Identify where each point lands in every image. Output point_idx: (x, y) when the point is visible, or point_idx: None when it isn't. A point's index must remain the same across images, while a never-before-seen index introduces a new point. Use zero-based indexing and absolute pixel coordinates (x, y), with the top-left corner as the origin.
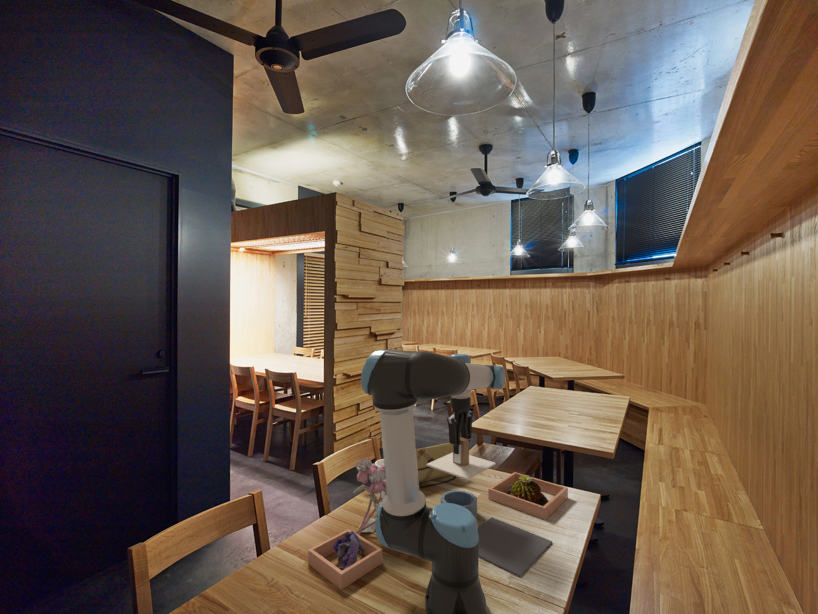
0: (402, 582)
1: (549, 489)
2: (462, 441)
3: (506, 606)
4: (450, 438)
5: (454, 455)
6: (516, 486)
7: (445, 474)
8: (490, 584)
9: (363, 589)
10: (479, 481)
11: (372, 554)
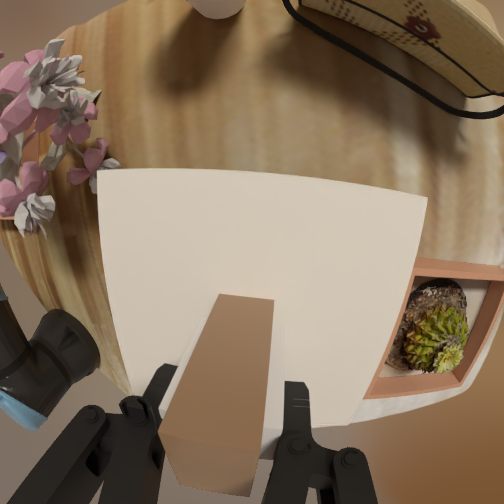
0: (43, 267)
1: (468, 350)
2: (178, 475)
3: (115, 383)
4: (65, 443)
5: (189, 345)
6: (431, 335)
7: (447, 78)
8: (124, 365)
9: (14, 234)
10: (474, 185)
11: (14, 217)
